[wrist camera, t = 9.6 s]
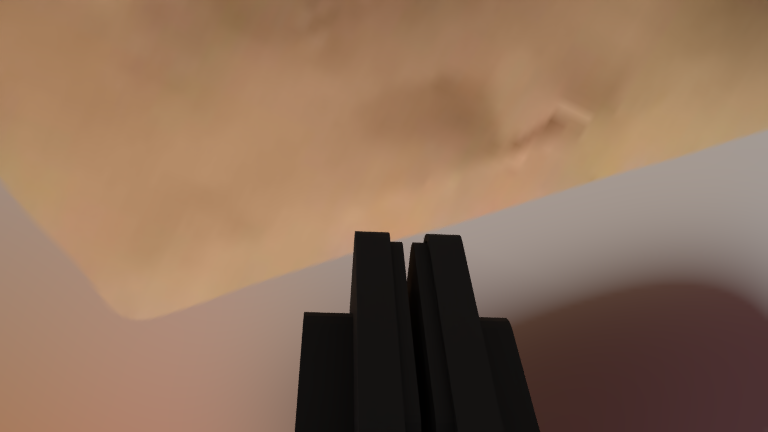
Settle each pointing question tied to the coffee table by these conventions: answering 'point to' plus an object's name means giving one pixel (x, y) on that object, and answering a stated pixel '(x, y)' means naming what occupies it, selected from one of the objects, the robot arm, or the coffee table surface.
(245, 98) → the coffee table surface
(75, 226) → the coffee table surface
